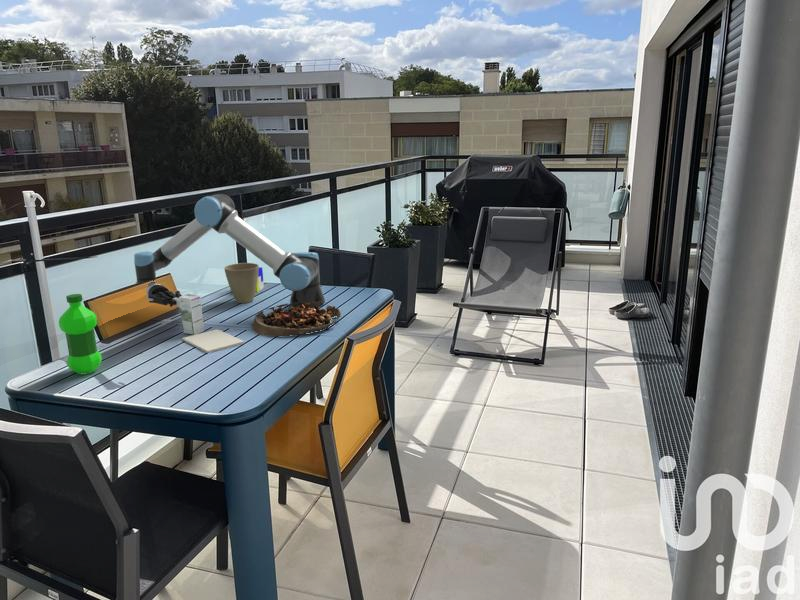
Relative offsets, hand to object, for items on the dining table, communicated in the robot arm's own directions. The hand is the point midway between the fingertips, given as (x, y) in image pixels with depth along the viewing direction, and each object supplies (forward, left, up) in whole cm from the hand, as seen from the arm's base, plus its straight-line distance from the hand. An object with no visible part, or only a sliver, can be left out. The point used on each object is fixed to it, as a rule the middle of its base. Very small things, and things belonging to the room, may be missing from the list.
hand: (182, 304), depth 233 cm
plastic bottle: (+19, +43, -10) cm, 48 cm away
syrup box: (-5, +6, -10) cm, 12 cm away
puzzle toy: (-15, -59, -10) cm, 62 cm away
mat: (-15, +18, -10) cm, 25 cm away
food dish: (-43, -1, -10) cm, 44 cm away
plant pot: (-16, -38, -10) cm, 43 cm away
